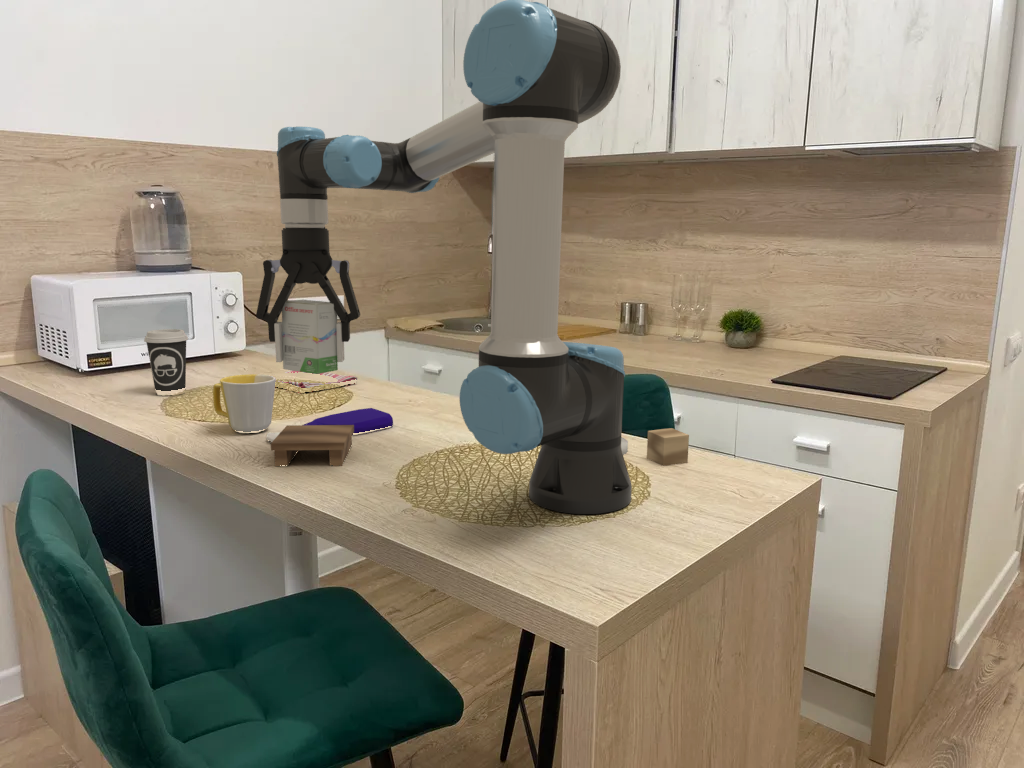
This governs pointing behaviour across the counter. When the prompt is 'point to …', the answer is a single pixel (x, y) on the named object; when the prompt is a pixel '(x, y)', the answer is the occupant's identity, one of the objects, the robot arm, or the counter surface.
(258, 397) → the mug
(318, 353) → the ink box
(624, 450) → the pale grey dome
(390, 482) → the counter surface
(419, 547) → the counter surface
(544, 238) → the robot arm
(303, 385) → the dish towel
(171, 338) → the coffee cup
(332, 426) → the stand
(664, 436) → the oak block
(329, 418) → the purple bottle shape
